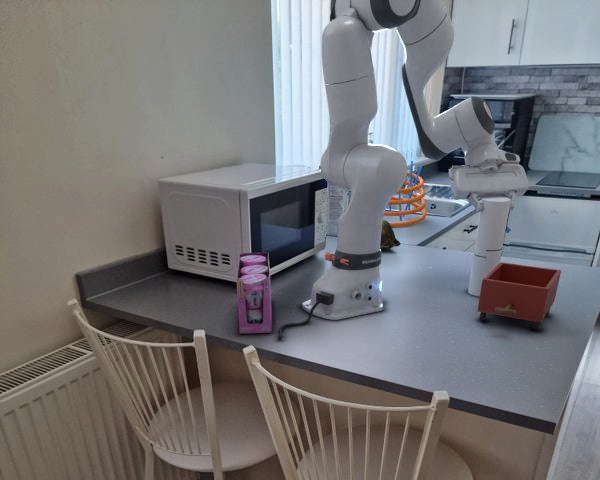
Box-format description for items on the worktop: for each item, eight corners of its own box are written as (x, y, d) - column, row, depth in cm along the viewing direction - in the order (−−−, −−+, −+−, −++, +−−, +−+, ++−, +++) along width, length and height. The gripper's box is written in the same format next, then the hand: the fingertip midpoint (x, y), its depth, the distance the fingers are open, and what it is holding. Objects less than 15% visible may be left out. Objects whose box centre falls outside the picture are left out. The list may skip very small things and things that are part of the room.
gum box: (272, 335, 126) (270, 279, 119) (239, 336, 126) (234, 280, 119) (271, 301, 147) (269, 251, 140) (242, 302, 147) (238, 252, 140)
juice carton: (339, 237, 210) (341, 162, 196) (316, 234, 215) (316, 161, 201) (349, 232, 217) (351, 160, 203) (326, 230, 221) (327, 159, 208)
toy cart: (533, 342, 120) (543, 295, 115) (468, 330, 127) (475, 285, 122) (551, 312, 136) (561, 270, 131) (493, 303, 143) (500, 262, 138)
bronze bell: (336, 224, 189) (379, 203, 192) (339, 249, 198) (380, 229, 201) (362, 249, 180) (407, 227, 182) (364, 274, 189) (406, 253, 192)
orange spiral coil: (436, 217, 244) (446, 161, 230) (406, 239, 220) (415, 178, 206) (368, 204, 259) (373, 151, 245) (333, 223, 235) (336, 165, 220)
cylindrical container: (495, 297, 147) (512, 201, 135) (469, 296, 148) (483, 201, 136) (493, 289, 153) (508, 196, 141) (467, 287, 154) (480, 196, 142)
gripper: (451, 157, 138) (462, 204, 135) (524, 155, 141) (537, 200, 137) (442, 174, 144) (453, 219, 141) (513, 171, 147) (525, 215, 144)
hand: (495, 210), depth 139 cm, fingers closed on cylindrical container, 7 cm apart
